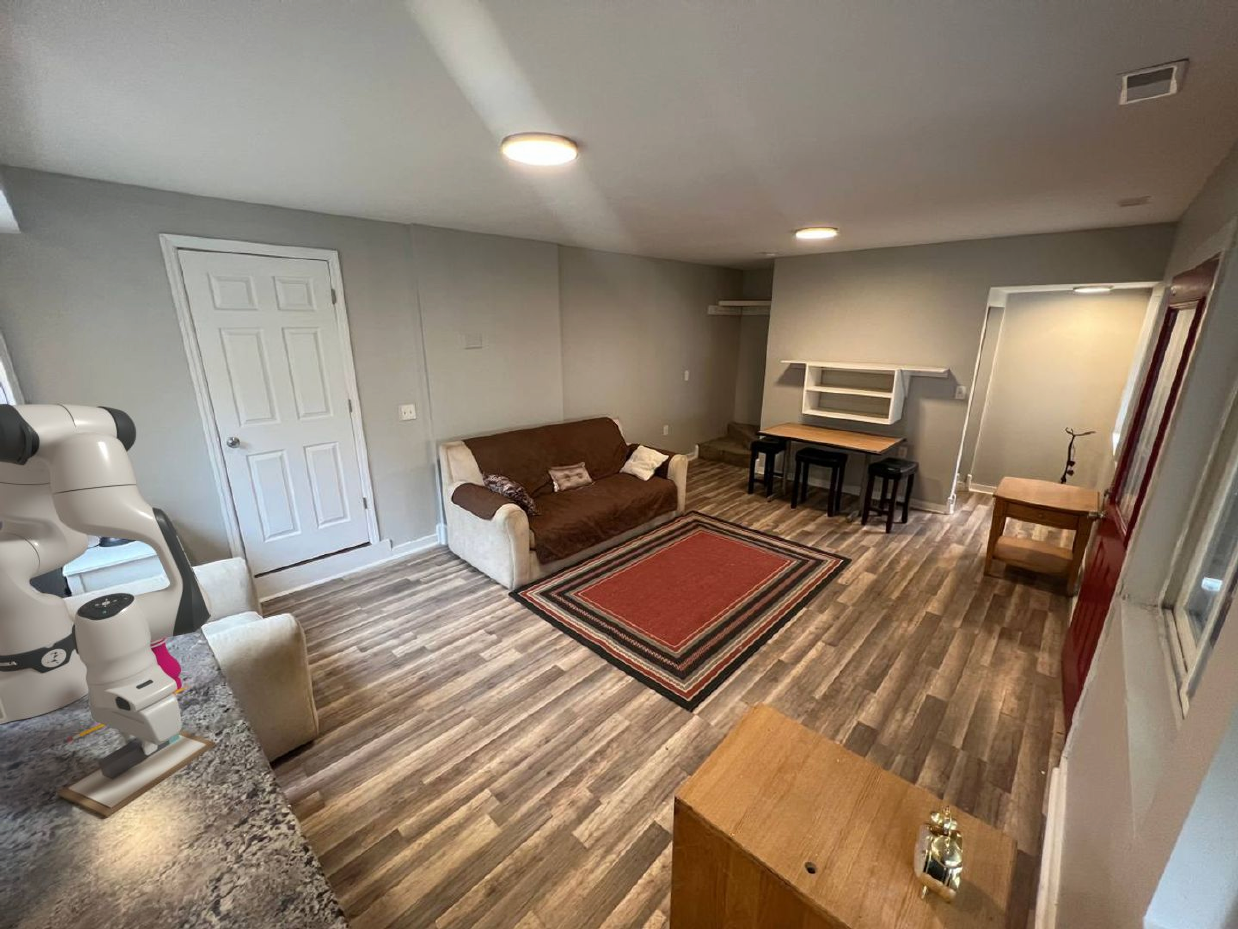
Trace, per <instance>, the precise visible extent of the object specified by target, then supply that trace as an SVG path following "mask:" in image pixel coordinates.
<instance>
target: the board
mask: <svg viewBox="0 0 1238 929" xmlns="http://www.w3.org/2000/svg"><path fill="white" fill-rule="evenodd" d="M215 746H216V742H215V741H212V740H209V739H206V738H203V737H201V736H197V735H195V734H192V733H189V732H187V731H183V730H182V729H181V730H180V732H179V739H177V740H176V741H174V742H173V743H171V744H169V745H168V746H166V747H164V748H163V749H161V750H160V751H158V752H156V753H155V754H153V755H151V756H150V757H148V758H147V759H145V760H143V761H142V762H140V763H138V764H137V765H135V766H134V767H132V768H130V769H129V770H127V771H125V772H124V773H122V774H121V775H119V776H117V777H116V778H114V779H110V778H108V777H106V776H104V775H102V771H101V768H100V766H99V767H97V768H96V769H94V770H92V771H90V772H89V773H87V774H85V775H84V776H81V777H80V778H79V779H76V780H75V781H74V782H73V781H72V783H70V784H68V785H66V786H65V787H63V788H62V789H60V790H58V791H56V793H57V795H58V796H59V797H61V798H64V799H66V800H68V801H71V802H72V803H74V804H76V805H79V806H80V807H83V808H84V809H86V810H89V811H91V812H94V813H95V814H98V815H100V816H101V817H104V818H106V819H108V818H109V817H112V815H114V814H115V813H117V812H118V811H120V810H121V809H123V808H124V807H126V806H127V805H129V804H131V802H133V801H135V800H136V799H138V798H140V796H142V795H144V794H145V793H147V792H148V791H150V790H151V789H152V788H154V787H156V786H157V785H158V784H160V783H162V782H163V781H165V780H166V779H167V778H169V777H170V776H172V775H173V774H175V773H176V772H178V771H179V770H181V769H182V768H184V767H186V766H187V765H188V764H190V763H191V762H193V761H194V760H196V759H197V758H199V757H200V756H202V755H203V754H205V753H206V752H209V751H210V749H212V748H214V747H215Z"/></svg>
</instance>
